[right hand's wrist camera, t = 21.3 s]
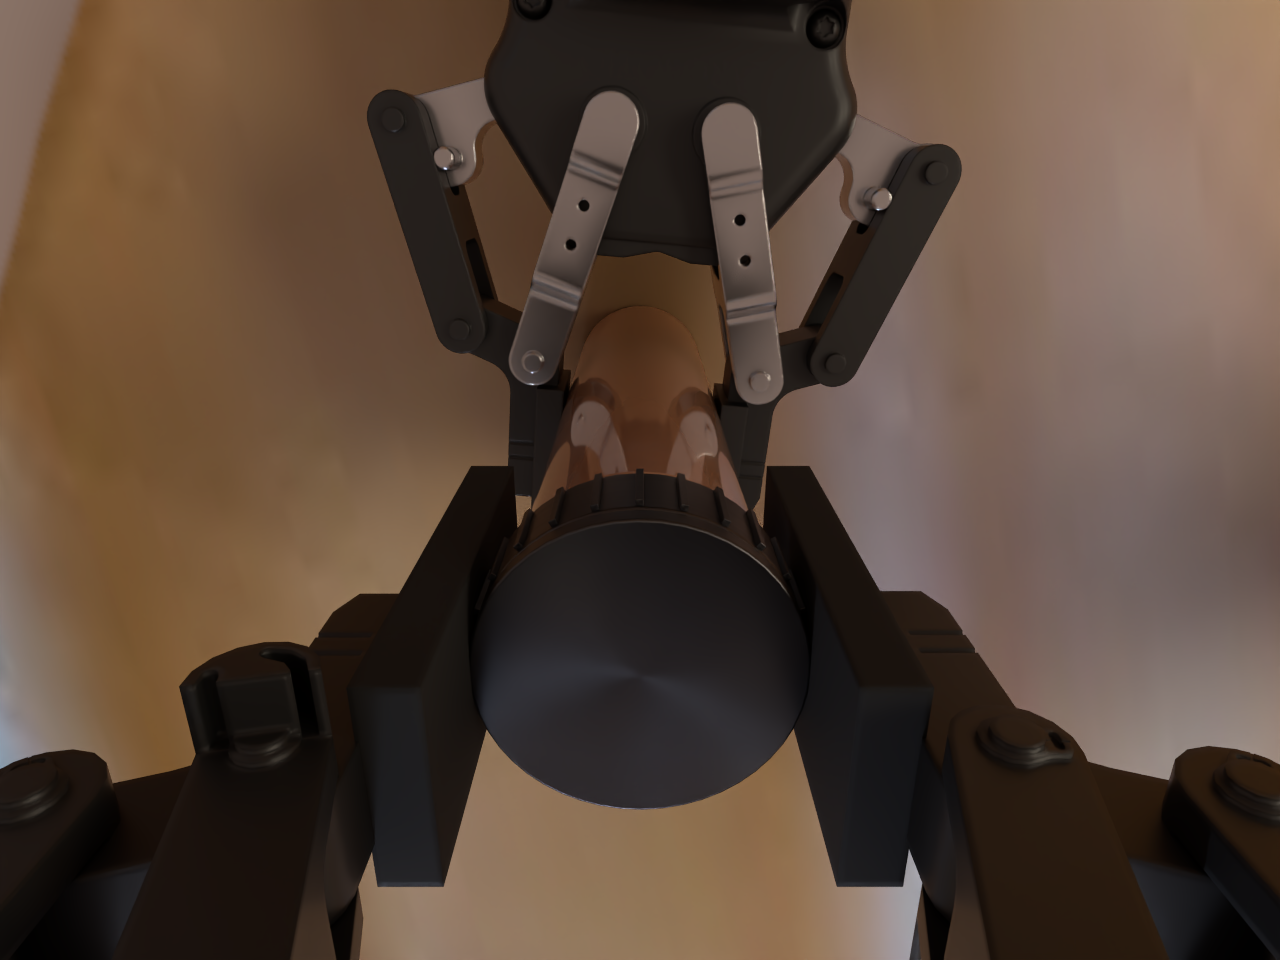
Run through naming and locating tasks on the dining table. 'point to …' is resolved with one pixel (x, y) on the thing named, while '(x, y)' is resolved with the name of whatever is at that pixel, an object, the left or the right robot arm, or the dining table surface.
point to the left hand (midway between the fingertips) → (632, 512)
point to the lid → (639, 643)
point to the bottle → (640, 409)
